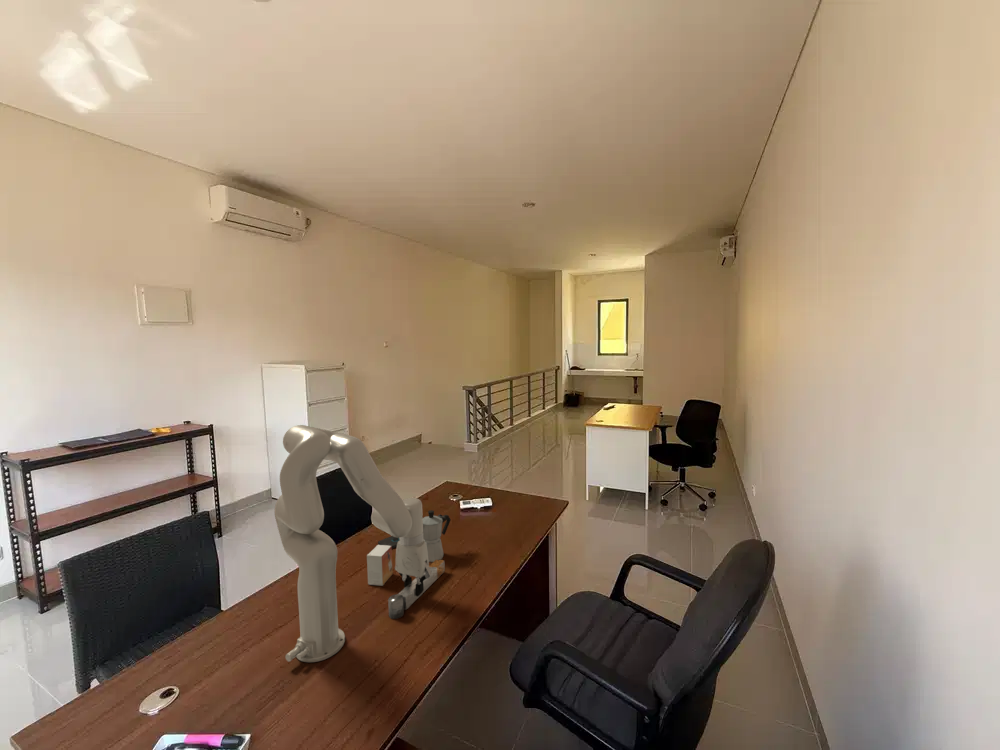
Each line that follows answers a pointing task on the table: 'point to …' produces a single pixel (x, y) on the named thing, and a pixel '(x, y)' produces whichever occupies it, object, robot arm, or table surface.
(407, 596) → the tongs loose arm
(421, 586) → the robot arm
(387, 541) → the smart home device
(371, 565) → the small box
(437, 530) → the coffee maker
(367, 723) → the table surface
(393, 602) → the tongs hinge and fixed arm
